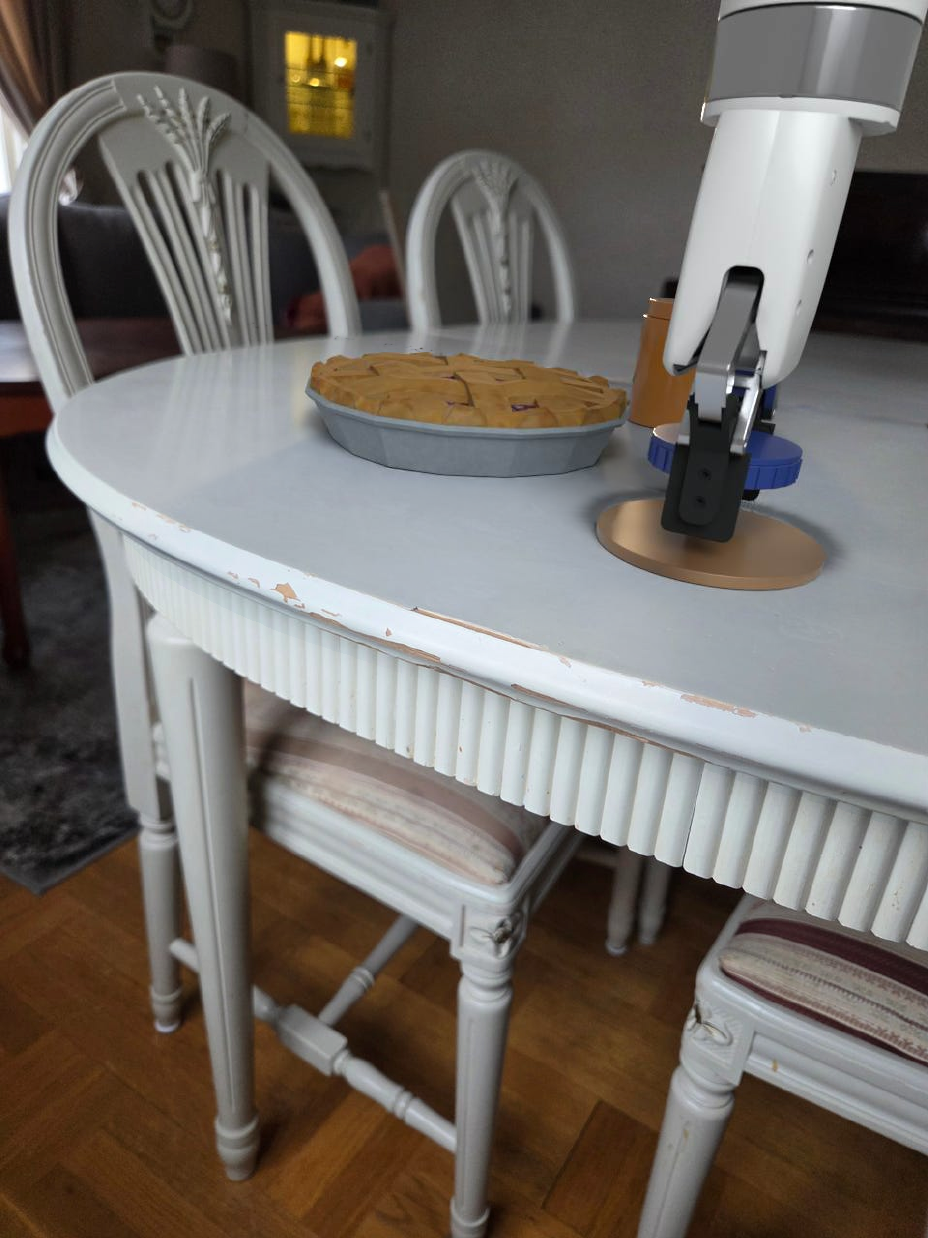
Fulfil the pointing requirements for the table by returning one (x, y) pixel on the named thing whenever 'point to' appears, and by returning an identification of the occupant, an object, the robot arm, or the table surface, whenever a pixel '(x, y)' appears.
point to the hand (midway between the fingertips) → (712, 510)
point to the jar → (657, 373)
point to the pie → (466, 413)
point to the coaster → (712, 549)
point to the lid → (770, 454)
